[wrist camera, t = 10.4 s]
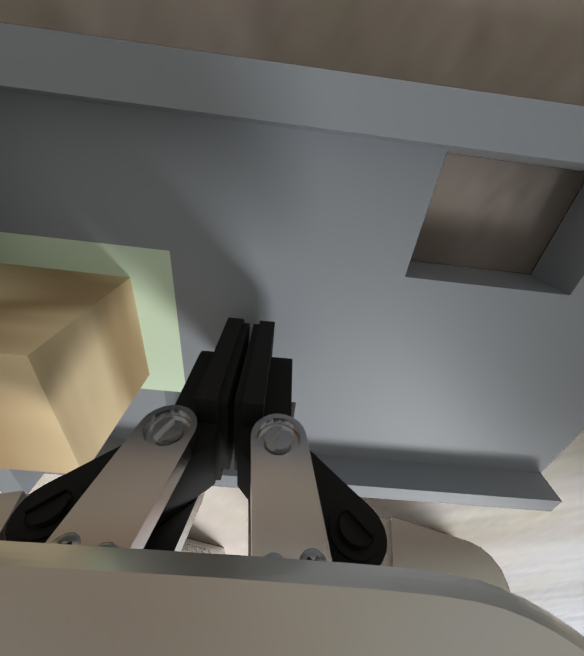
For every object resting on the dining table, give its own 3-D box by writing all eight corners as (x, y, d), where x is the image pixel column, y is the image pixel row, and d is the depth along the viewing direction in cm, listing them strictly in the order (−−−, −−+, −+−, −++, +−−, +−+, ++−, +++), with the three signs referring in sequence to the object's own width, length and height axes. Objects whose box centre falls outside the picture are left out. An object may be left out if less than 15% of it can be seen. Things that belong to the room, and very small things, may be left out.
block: (130, 277, 10) (26, 356, 6) (149, 374, 12) (83, 474, 9) (-4, 262, 10) (-197, 334, 6) (42, 364, 12) (-75, 462, 8)
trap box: (752, 157, 10) (1117, 162, 5) (508, 451, 18) (574, 544, 14) (-66, 43, 8) (-441, -68, 4) (84, 415, 17) (12, 505, 13)
